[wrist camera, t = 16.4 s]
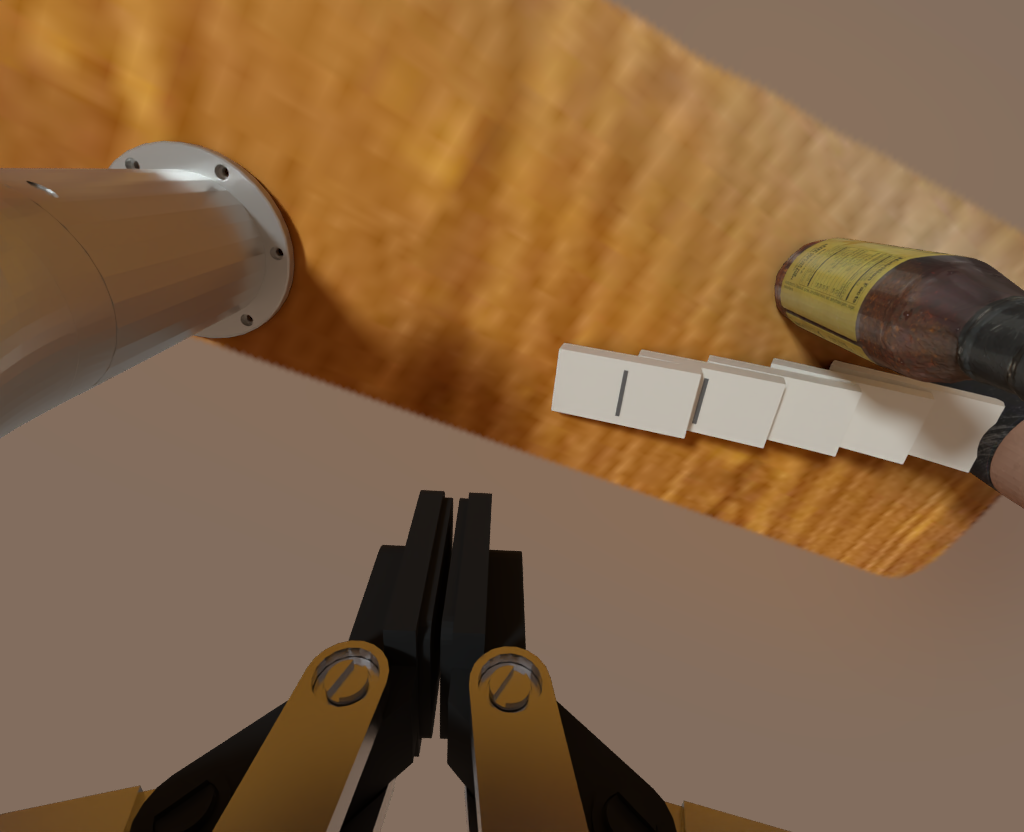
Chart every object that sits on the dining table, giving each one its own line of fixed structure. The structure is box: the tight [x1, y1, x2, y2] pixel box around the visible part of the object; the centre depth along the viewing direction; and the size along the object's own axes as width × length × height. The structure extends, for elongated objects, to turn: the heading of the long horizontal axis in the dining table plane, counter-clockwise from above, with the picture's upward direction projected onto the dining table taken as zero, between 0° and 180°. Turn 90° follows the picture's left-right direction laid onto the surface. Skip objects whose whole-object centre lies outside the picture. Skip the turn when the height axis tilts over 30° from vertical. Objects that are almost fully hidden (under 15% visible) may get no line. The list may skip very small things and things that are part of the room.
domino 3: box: [708, 355, 862, 457], centre depth 37 cm, size 2×5×10 cm
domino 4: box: [771, 358, 935, 464], centre depth 37 cm, size 2×5×10 cm
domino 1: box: [551, 343, 702, 439], centre depth 37 cm, size 2×5×10 cm
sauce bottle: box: [775, 238, 1024, 401], centre depth 27 cm, size 6×6×20 cm
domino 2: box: [638, 350, 786, 448], centre depth 37 cm, size 2×5×10 cm
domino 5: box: [829, 360, 1005, 473], centre depth 37 cm, size 2×5×10 cm
